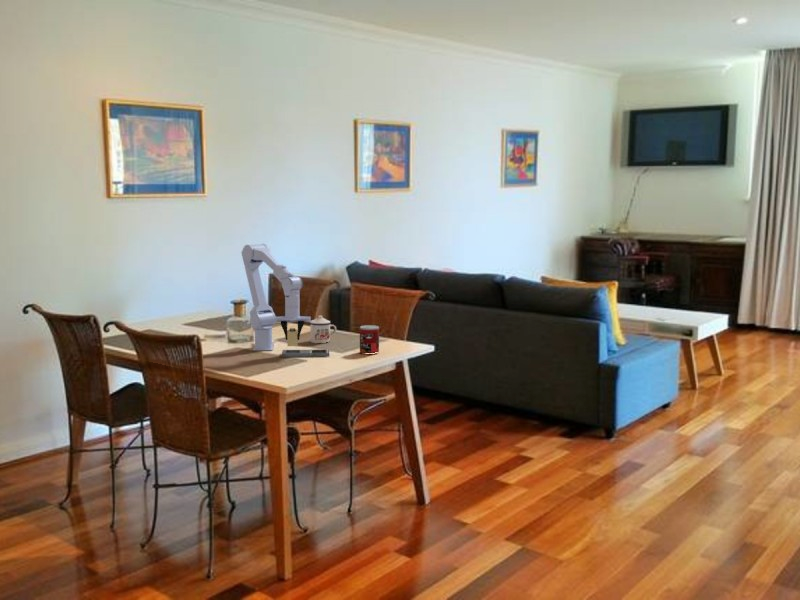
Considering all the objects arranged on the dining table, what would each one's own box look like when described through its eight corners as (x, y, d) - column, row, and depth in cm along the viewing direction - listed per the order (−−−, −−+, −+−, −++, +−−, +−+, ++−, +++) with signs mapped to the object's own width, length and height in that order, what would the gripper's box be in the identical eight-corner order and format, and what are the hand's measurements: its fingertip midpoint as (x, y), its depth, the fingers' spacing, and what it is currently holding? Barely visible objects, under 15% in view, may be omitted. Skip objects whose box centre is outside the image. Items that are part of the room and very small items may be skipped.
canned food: (356, 352, 325) (356, 326, 324) (371, 350, 330) (371, 324, 329) (367, 355, 319) (367, 329, 318) (382, 353, 324) (382, 327, 323)
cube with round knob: (287, 344, 320) (287, 327, 319) (297, 344, 320) (297, 327, 319) (287, 346, 316) (287, 329, 315) (297, 346, 317) (297, 329, 316)
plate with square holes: (282, 353, 322) (282, 349, 322) (329, 353, 324) (329, 349, 324) (281, 357, 315) (281, 353, 315) (329, 356, 317) (329, 352, 317)
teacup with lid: (314, 344, 341) (314, 318, 339) (307, 340, 349) (306, 314, 347) (339, 342, 346) (339, 316, 345) (332, 338, 354) (332, 313, 353)
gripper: (273, 307, 311) (273, 341, 313) (310, 307, 313) (310, 341, 315) (274, 305, 318) (274, 338, 320) (310, 305, 320) (310, 337, 322)
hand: (292, 339), depth 318 cm, fingers closed on cube with round knob, 4 cm apart
